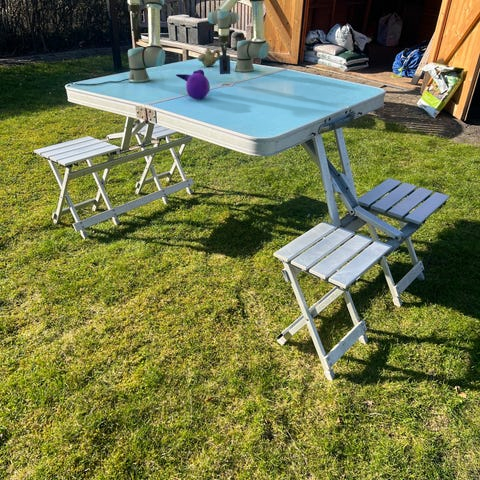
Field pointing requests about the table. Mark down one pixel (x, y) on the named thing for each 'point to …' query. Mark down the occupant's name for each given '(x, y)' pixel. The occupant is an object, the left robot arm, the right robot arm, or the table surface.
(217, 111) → the table surface
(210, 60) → the teapot
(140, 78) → the left robot arm
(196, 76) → the toy
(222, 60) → the brick
